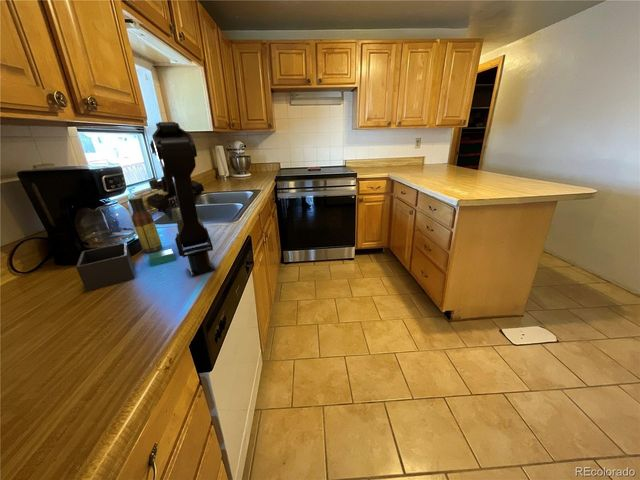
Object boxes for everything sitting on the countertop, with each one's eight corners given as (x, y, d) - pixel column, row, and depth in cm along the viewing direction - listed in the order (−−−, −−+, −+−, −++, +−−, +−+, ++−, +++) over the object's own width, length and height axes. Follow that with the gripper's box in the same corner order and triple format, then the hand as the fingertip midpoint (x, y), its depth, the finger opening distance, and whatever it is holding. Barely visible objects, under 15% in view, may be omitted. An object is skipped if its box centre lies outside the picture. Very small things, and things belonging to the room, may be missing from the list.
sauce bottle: (164, 245, 102) (149, 194, 95) (160, 251, 97) (145, 198, 89) (145, 248, 100) (128, 196, 93) (140, 254, 95) (122, 200, 87)
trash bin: (134, 278, 79) (126, 255, 76) (86, 291, 73) (75, 267, 70) (133, 262, 89) (126, 242, 86) (90, 273, 83) (81, 251, 80)
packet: (173, 255, 93) (171, 248, 92) (175, 259, 89) (173, 253, 89) (150, 260, 90) (148, 254, 89) (151, 266, 86) (149, 259, 85)
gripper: (179, 161, 98) (187, 198, 107) (129, 176, 84) (142, 217, 93) (202, 169, 94) (207, 207, 103) (153, 186, 80) (164, 228, 90)
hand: (181, 214), depth 97 cm, fingers open, 9 cm apart
